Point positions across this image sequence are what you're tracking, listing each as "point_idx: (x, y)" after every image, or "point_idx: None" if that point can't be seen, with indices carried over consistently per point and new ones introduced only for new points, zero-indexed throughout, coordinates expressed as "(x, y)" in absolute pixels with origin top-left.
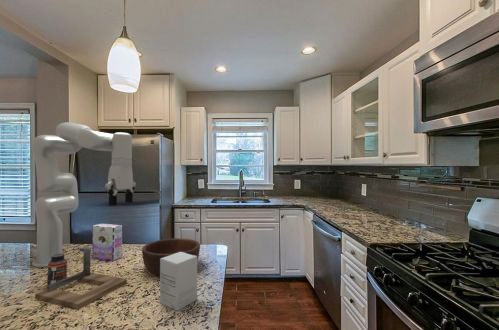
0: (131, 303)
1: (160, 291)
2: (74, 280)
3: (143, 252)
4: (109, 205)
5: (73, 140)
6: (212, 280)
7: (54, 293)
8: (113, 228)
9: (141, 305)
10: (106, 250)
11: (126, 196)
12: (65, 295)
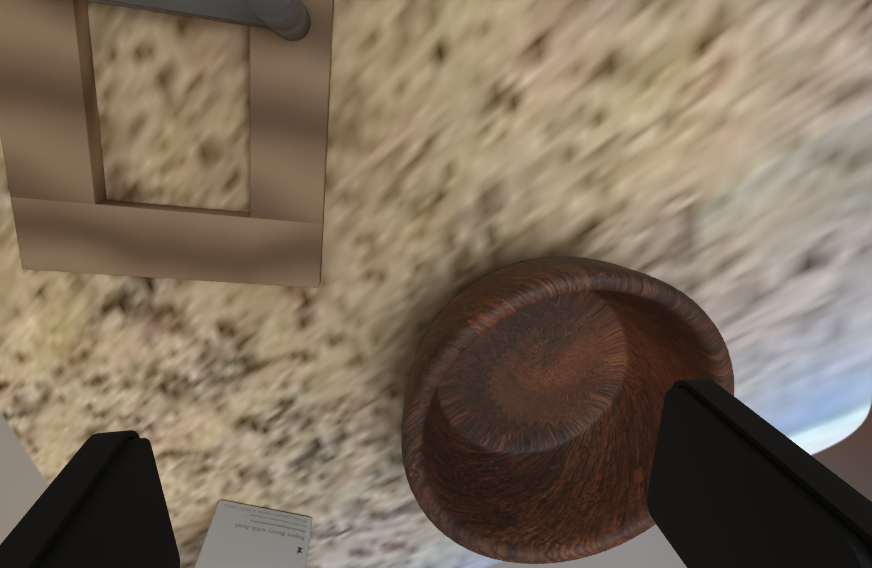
0: (175, 418)
1: (205, 537)
2: (195, 17)
3: (440, 346)
4: (103, 443)
5: None
6: (440, 559)
7: (30, 50)
8: None
9: (179, 457)
10: None
11: (767, 514)
12: (47, 134)
